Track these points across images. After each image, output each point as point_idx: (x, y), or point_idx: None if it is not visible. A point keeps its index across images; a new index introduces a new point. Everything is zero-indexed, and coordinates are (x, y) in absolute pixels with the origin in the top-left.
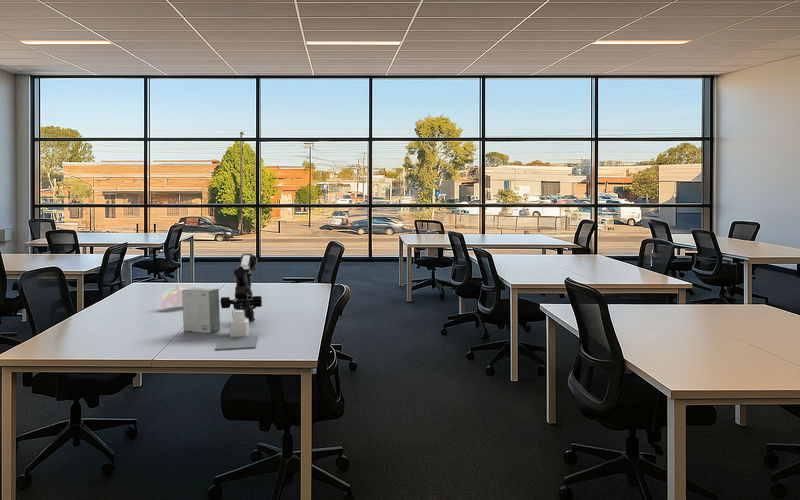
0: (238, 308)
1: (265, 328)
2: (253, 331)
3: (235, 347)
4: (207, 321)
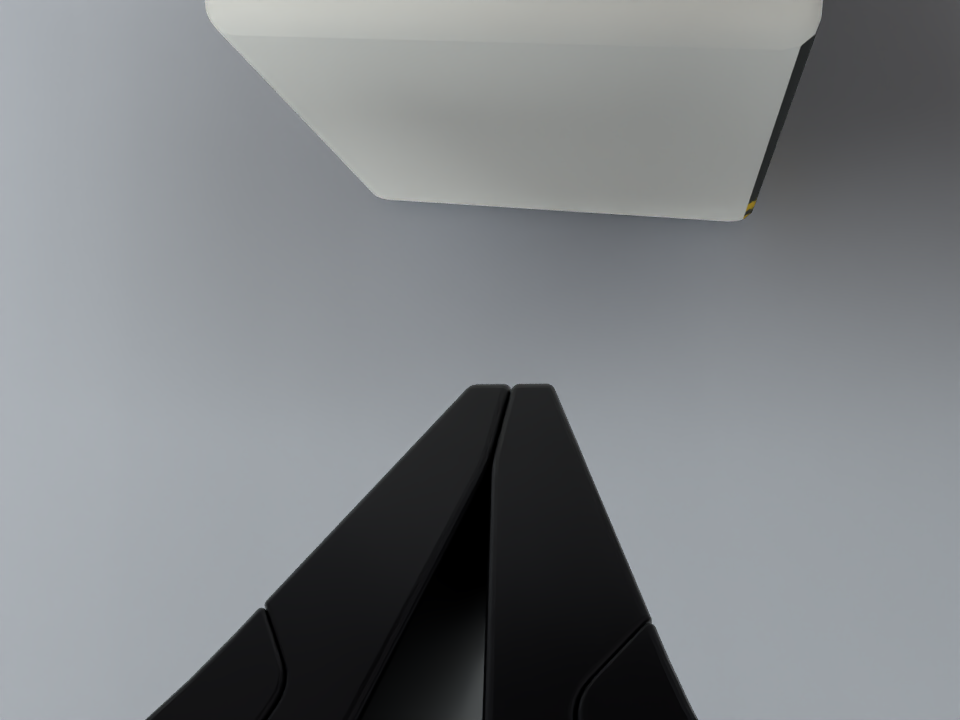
0: (616, 689)
1: (18, 700)
2: (286, 430)
3: None
4: None
